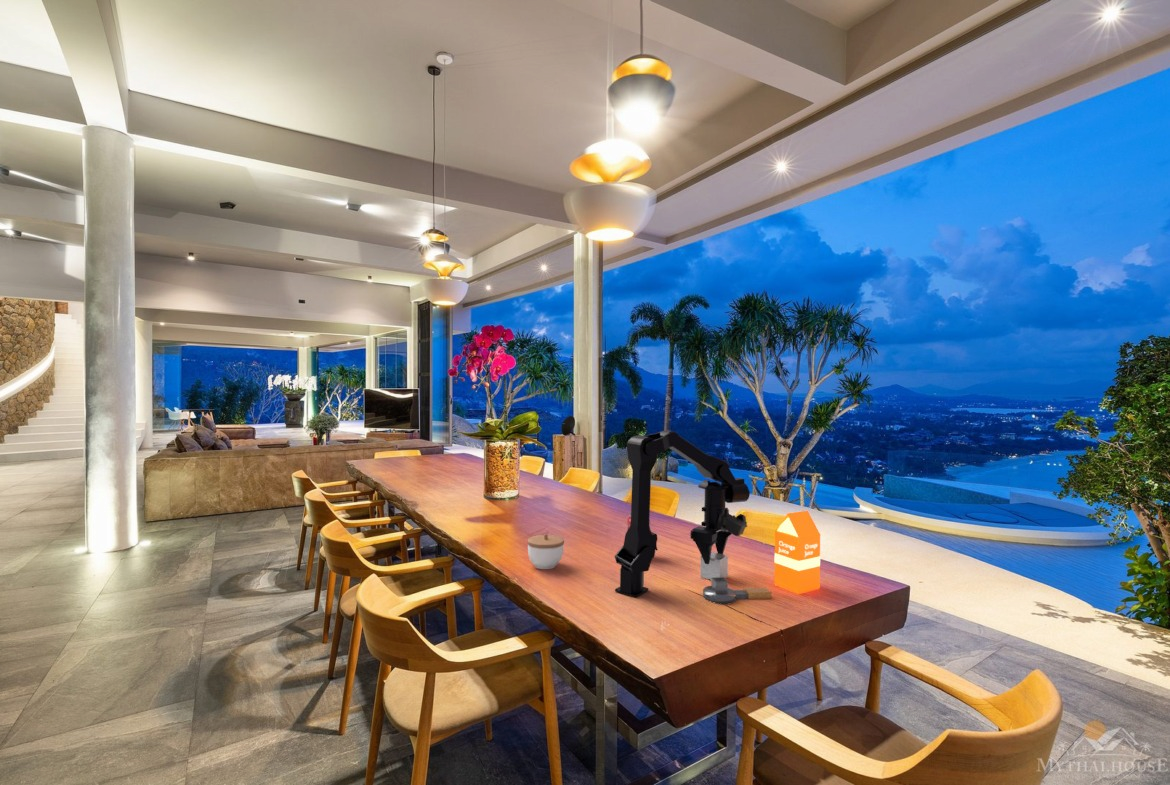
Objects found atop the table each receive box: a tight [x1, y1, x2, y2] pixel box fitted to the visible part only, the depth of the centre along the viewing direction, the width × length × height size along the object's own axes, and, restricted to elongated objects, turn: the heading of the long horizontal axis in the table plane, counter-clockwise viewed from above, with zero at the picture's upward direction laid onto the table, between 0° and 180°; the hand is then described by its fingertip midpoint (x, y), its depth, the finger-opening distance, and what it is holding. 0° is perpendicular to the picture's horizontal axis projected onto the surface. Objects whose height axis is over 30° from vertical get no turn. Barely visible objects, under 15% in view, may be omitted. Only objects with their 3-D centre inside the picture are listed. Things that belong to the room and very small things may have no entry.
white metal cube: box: [700, 551, 729, 581], centre depth 140 cm, size 6×6×6 cm
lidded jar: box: [527, 533, 565, 570], centre depth 147 cm, size 11×11×9 cm
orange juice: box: [773, 510, 821, 595], centre depth 134 cm, size 8×9×20 cm
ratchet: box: [702, 577, 772, 605], centre depth 126 cm, size 17×8×4 cm, turn 97°
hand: (713, 559), depth 140 cm, fingers open, 9 cm apart
